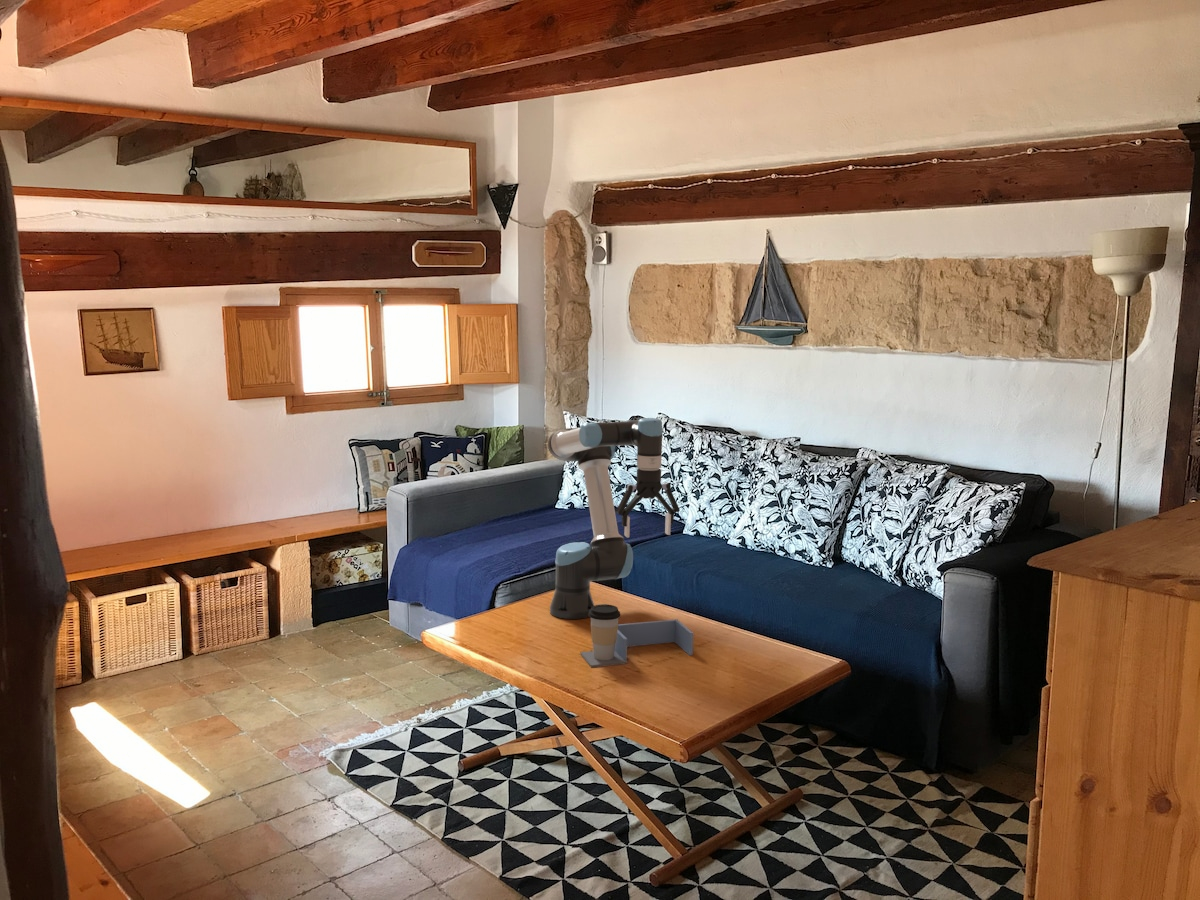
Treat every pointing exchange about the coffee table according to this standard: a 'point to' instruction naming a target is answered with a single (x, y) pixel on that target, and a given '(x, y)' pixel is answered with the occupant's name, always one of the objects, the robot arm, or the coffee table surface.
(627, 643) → the grey u-shaped wall
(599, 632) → the coffee cup
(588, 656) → the coaster
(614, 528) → the robot arm
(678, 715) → the coffee table surface
